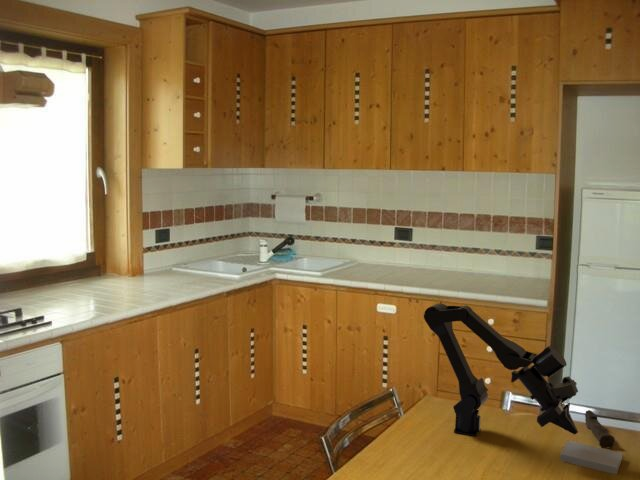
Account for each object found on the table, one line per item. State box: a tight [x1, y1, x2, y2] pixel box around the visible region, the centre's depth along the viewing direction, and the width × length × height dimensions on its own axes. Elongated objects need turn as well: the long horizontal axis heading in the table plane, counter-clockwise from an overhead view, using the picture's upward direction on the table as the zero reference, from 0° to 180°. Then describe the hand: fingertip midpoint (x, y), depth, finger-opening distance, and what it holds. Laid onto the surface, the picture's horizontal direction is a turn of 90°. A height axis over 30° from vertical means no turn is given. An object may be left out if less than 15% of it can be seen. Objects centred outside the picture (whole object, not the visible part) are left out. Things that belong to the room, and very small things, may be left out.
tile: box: [559, 440, 623, 475], centre depth 180 cm, size 2×10×14 cm
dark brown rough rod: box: [584, 409, 616, 448], centre depth 197 cm, size 19×4×5 cm, turn 173°
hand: (576, 433), depth 181 cm, fingers closed
